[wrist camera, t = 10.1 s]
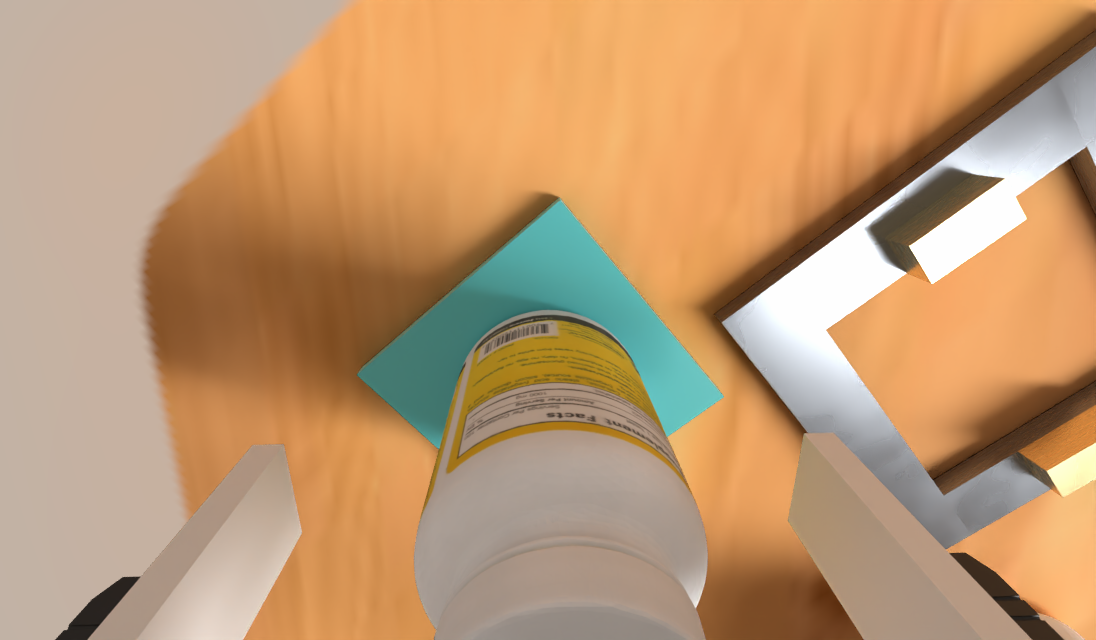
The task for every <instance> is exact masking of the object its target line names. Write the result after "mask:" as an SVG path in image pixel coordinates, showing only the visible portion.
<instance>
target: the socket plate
mask: <svg viewBox="0 0 1096 640" xmlns="http://www.w3.org/2000/svg"><path fill="white" fill-rule="evenodd" d="M1068 159H1069V160H1070V162H1071V164H1072V166H1073V169H1074V171H1075V173H1076V175H1077V177H1078V179H1079V181H1080V183H1081V186H1082V188H1083V190H1084V192H1085V194H1086V196H1087V198H1088V200H1089V203H1090V205H1091V207H1092V209H1093V211H1094V213H1095V215H1096V30H1095V31H1094V32H1092V33H1091V34H1090V35H1088V36H1087V37H1086V38H1084V39H1083V40H1082V41H1080V42H1079V43H1078V44H1076V45H1075V46H1074V47H1072V48H1071V49H1070V50H1068V51H1067V52H1066V53H1064V54H1063V55H1062V56H1060V57H1059V58H1058V59H1056V60H1055V61H1054V62H1052V63H1051V64H1050V65H1048V66H1047V67H1046V68H1044V69H1043V70H1041V71H1040V72H1039V73H1037V74H1036V75H1035V76H1033V77H1032V78H1031V79H1029V80H1028V81H1027V82H1025V83H1024V84H1023V85H1021V86H1020V87H1019V88H1017V89H1016V90H1015V91H1013V92H1012V93H1011V94H1009V95H1008V96H1007V97H1005V98H1004V99H1003V100H1001V101H1000V102H999V103H997V104H996V105H995V106H993V107H992V108H990V109H989V110H988V111H986V112H985V113H984V114H982V115H981V116H980V117H978V118H977V119H976V120H974V121H973V122H972V123H970V124H969V125H968V126H966V127H965V128H964V129H962V130H961V131H960V132H958V133H957V134H956V135H954V136H953V137H952V138H950V139H949V140H948V141H946V142H945V143H944V144H942V145H941V146H939V147H938V148H937V149H935V150H934V151H933V152H931V153H930V154H929V155H927V156H926V157H925V158H923V159H922V160H921V161H919V162H918V163H917V164H915V165H914V166H913V167H911V168H910V169H909V170H907V171H906V172H905V173H903V174H902V175H901V176H899V177H898V178H897V179H895V180H894V181H893V182H891V183H890V184H888V185H887V186H886V187H884V188H883V189H882V190H880V191H879V192H878V193H876V194H875V195H874V196H872V197H871V198H870V199H868V200H867V201H866V202H864V203H863V204H862V205H860V206H859V207H858V208H856V209H855V210H854V211H852V212H851V213H850V214H848V215H847V216H846V217H844V218H843V219H842V220H840V221H839V222H837V223H836V224H835V225H833V226H832V227H831V228H829V229H828V230H827V231H825V232H824V233H823V234H821V235H820V236H819V237H817V238H816V239H815V240H813V241H812V242H811V243H809V244H808V245H807V246H805V247H804V248H803V249H801V250H800V251H799V252H797V253H796V254H795V255H793V256H792V257H791V258H789V259H788V260H786V261H785V262H784V263H782V264H781V265H780V266H778V267H777V268H776V269H774V270H773V271H772V272H770V273H769V274H768V275H766V276H765V277H764V278H762V279H761V280H760V281H758V282H757V283H756V284H754V285H753V286H752V287H750V288H749V289H748V290H746V291H745V292H744V293H742V294H741V295H740V296H738V297H737V298H735V299H734V300H733V301H731V302H730V303H729V304H727V305H726V306H725V307H723V308H722V309H721V310H719V311H718V312H717V313H715V314H714V315H715V316H716V318H717V319H718V320H719V321H720V323H721V324H722V325H723V326H724V328H725V329H726V330H727V332H728V333H729V334H730V335H731V337H732V338H733V339H734V340H735V342H736V343H737V344H738V345H739V347H740V348H741V349H742V351H743V352H744V353H745V354H746V356H747V357H748V358H749V359H750V361H751V362H752V363H753V365H754V366H755V367H756V368H757V370H758V371H759V372H760V373H761V375H762V376H763V377H764V379H765V380H766V381H767V382H768V384H769V385H770V386H771V387H772V389H773V390H774V391H775V392H776V394H777V395H778V396H779V398H780V399H781V400H782V401H783V403H784V404H785V405H786V406H787V408H788V409H789V410H790V412H791V413H792V414H793V415H794V417H795V418H796V419H797V420H798V422H799V423H800V424H801V426H802V427H803V428H804V429H805V431H806V432H807V433H834V434H835V435H836V436H837V437H838V438H839V439H840V440H841V441H842V442H843V443H844V444H845V445H846V446H847V447H848V448H849V449H850V450H851V452H852V453H853V454H854V455H855V456H856V457H857V458H858V459H859V460H860V461H861V462H862V463H863V464H864V465H865V466H866V467H867V468H868V469H869V470H870V471H871V472H872V473H873V474H874V475H875V477H876V478H877V479H878V480H879V481H880V482H881V483H882V484H883V485H884V486H885V487H886V488H887V489H888V490H889V491H890V492H891V493H892V494H893V495H894V496H895V497H896V498H897V499H898V500H899V502H900V503H901V504H902V505H903V506H904V507H905V508H906V509H907V510H908V511H909V512H910V513H911V514H912V515H913V516H914V517H915V518H916V519H917V520H918V521H919V522H920V523H921V524H922V525H923V527H924V528H925V529H926V530H927V531H928V532H929V533H930V534H931V535H932V536H933V537H934V538H935V539H936V540H937V541H938V542H939V543H940V544H941V545H942V546H943V547H944V548H945V549H947V548H949V547H951V546H953V545H954V544H956V543H958V542H960V541H961V540H963V539H965V538H967V537H968V536H970V535H972V534H974V533H975V532H977V531H979V530H980V529H982V528H984V527H986V526H987V525H989V524H991V523H993V522H994V521H996V520H998V519H1000V518H1001V517H1003V516H1005V515H1007V514H1008V513H1010V512H1012V511H1014V510H1015V509H1017V508H1019V507H1020V506H1022V505H1024V504H1026V503H1027V502H1029V501H1031V500H1033V499H1034V498H1036V497H1038V496H1040V495H1041V494H1043V493H1045V492H1047V491H1048V490H1050V489H1052V490H1053V491H1054V492H1056V493H1057V494H1059V495H1060V496H1061V497H1065V496H1067V495H1068V494H1070V493H1072V492H1074V491H1075V490H1077V489H1079V488H1081V487H1083V486H1084V485H1086V484H1088V483H1090V482H1091V481H1093V480H1095V479H1096V382H1094V383H1092V384H1091V385H1089V386H1087V387H1086V388H1084V389H1082V390H1081V391H1079V392H1077V393H1076V394H1074V395H1072V396H1071V397H1069V398H1068V399H1066V400H1064V401H1063V402H1061V403H1059V404H1058V405H1056V406H1054V407H1053V408H1051V409H1049V410H1048V411H1046V412H1044V413H1043V414H1041V415H1040V416H1038V417H1036V418H1035V419H1033V420H1031V421H1030V422H1028V423H1026V424H1025V425H1023V426H1021V427H1020V428H1018V429H1016V430H1015V431H1013V432H1012V433H1010V434H1008V435H1007V436H1005V437H1003V438H1002V439H1000V440H998V441H997V442H995V443H993V444H992V445H990V446H988V447H987V448H985V449H983V450H982V451H980V452H979V453H977V454H975V455H974V456H972V457H970V458H969V459H967V460H965V461H964V462H962V463H960V464H959V465H957V466H955V467H954V468H952V469H951V470H949V471H947V472H946V473H944V474H942V475H941V476H939V477H937V478H936V479H934V480H932V479H931V477H930V476H929V474H928V473H927V472H926V470H925V469H924V467H923V466H922V465H921V463H920V462H919V460H918V459H917V458H916V456H915V455H914V453H913V452H912V450H911V449H910V448H909V446H908V445H907V443H906V442H905V441H904V439H903V438H902V436H901V435H900V434H899V432H898V431H897V429H896V428H895V427H894V425H893V424H892V422H891V421H890V420H889V418H888V417H887V415H886V414H885V413H884V411H883V410H882V408H881V407H880V406H879V404H878V403H877V401H876V400H875V399H874V397H873V396H872V394H871V393H870V392H869V390H868V389H867V387H866V386H865V385H864V383H863V382H862V380H861V379H860V378H859V376H858V375H857V373H856V372H855V370H854V369H853V368H852V366H851V365H850V363H849V362H848V361H847V359H846V358H845V356H844V355H843V354H842V352H841V351H840V349H839V348H838V347H837V345H836V344H835V342H834V341H833V340H832V338H831V337H830V335H829V334H828V333H827V331H826V329H827V328H829V327H830V326H832V325H833V324H834V323H836V322H837V321H839V320H840V319H842V318H843V317H844V316H846V315H847V314H849V313H850V312H852V311H853V310H854V309H856V308H857V307H859V306H860V305H862V304H863V303H864V302H866V301H867V300H869V299H870V298H872V297H873V296H874V295H876V294H877V293H879V292H880V291H881V290H883V289H884V288H886V287H887V286H889V285H890V284H891V283H893V282H894V281H896V280H897V279H899V278H900V277H901V276H903V275H904V274H906V273H908V274H910V275H912V276H915V277H917V278H920V279H922V280H924V281H927V282H929V283H932V284H933V283H934V282H936V281H937V280H938V279H940V278H941V277H943V276H944V275H946V274H947V273H949V272H950V271H951V270H953V269H954V268H956V267H957V266H959V265H960V264H962V263H963V262H965V261H966V260H967V259H969V258H970V257H972V256H973V255H975V254H976V253H978V252H979V251H980V250H982V249H983V248H985V247H986V246H988V245H989V244H991V243H992V242H994V241H995V240H996V239H998V238H999V237H1001V236H1002V235H1004V234H1005V233H1007V232H1008V231H1009V230H1011V229H1012V228H1014V227H1015V226H1017V225H1018V224H1020V223H1021V222H1023V221H1024V220H1025V219H1026V217H1025V215H1024V213H1023V211H1022V209H1021V208H1020V206H1019V204H1018V202H1017V200H1016V198H1015V196H1017V195H1018V194H1020V193H1021V192H1023V191H1024V190H1025V189H1027V188H1028V187H1030V186H1031V185H1033V184H1034V183H1035V182H1037V181H1038V180H1040V179H1041V178H1043V177H1044V176H1045V175H1047V174H1048V173H1050V172H1051V171H1052V170H1054V169H1055V168H1057V167H1058V166H1060V165H1061V164H1062V163H1064V162H1065V161H1067V160H1068Z"/></svg>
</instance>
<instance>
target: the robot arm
mask: <svg viewBox="0 0 1096 640" xmlns="http://www.w3.org/2000/svg"><path fill="white" fill-rule="evenodd" d="M788 522H789V523H790V525H791V526H792V528H793V529H794V531H795V533H796V534H797V536H798V537H799V539H800V540H801V542H802V544H803V545H804V547H805V548H806V550H807V551H808V553H809V555H810V556H811V558H812V559H813V561H814V562H815V564H816V566H817V567H818V569H819V570H820V572H821V573H822V575H823V577H824V578H825V580H826V581H827V583H828V584H829V586H830V587H831V589H832V591H833V592H834V594H835V595H836V597H837V598H838V600H839V602H840V603H841V605H842V606H843V608H844V609H845V611H846V613H847V614H848V616H849V617H850V619H851V620H852V622H853V624H854V625H855V627H856V628H857V630H858V631H859V633H860V635H861V636H862V638H863V639H864V640H1064V639H1063V638H1062V637H1061V636H1060V635H1059V634H1058V633H1057V632H1056V631H1055V630H1054V629H1053V628H1052V627H1051V626H1050V625H1049V624H1048V623H1047V622H1046V621H1045V620H1041V619H1040V617H1039V614H1038V613H1037V612H1036V611H1035V610H1034V609H1032V608H1031V607H1030V606H1029V605H1028V604H1027V603H1026V602H1025V601H1024V600H1020V598H1019V595H1018V594H1017V593H1016V592H1015V591H1014V590H1013V589H1012V588H1011V587H1010V586H1009V585H1008V584H1007V583H1006V582H1005V581H1004V580H1003V579H1002V578H1001V577H1000V576H999V575H998V574H997V573H996V572H994V571H993V570H991V569H990V568H988V567H987V566H985V565H983V564H982V563H980V562H979V561H977V560H976V559H974V558H973V557H971V556H970V555H968V554H967V553H948V552H947V550H946V549H945V548H944V547H943V546H942V545H941V544H940V543H939V542H938V541H937V540H936V539H935V538H934V537H933V536H932V535H931V534H930V533H929V532H928V531H927V530H926V529H925V528H924V527H923V525H922V524H921V523H920V522H919V521H918V520H917V519H916V518H915V517H914V516H913V515H912V514H911V513H910V512H909V511H908V510H907V509H906V508H905V507H904V506H903V505H902V504H901V503H900V502H899V500H898V499H897V498H896V497H895V496H894V495H893V494H892V493H891V492H890V491H889V490H888V489H887V488H886V487H885V486H884V485H883V484H882V483H881V482H880V481H879V480H878V479H877V478H876V477H875V475H874V474H873V473H872V472H871V471H870V470H869V469H868V468H867V467H866V466H865V465H864V464H863V463H862V462H861V461H860V460H859V459H858V458H857V457H856V456H855V455H854V454H853V453H852V452H851V450H850V449H849V448H848V447H847V446H846V445H845V444H844V443H843V442H842V441H841V440H840V439H839V438H838V437H837V436H836V435H835V434H834V433H804V436H803V441H802V446H801V452H800V457H799V463H798V468H797V473H796V479H795V484H794V490H793V495H792V500H791V506H790V511H789V517H788ZM301 534H302V530H301V525H300V520H299V515H298V511H297V506H296V501H295V496H294V491H293V486H292V481H291V477H290V472H289V467H288V462H287V457H286V452H285V447H284V444H275V445H252V446H251V448H250V449H249V450H248V451H247V452H246V454H245V455H244V456H243V457H242V458H241V459H240V461H239V462H238V463H237V464H236V465H235V466H234V468H233V469H232V470H231V471H230V472H229V474H228V475H227V476H226V477H225V478H224V479H223V481H222V482H221V483H220V484H219V485H218V486H217V488H216V489H215V490H214V491H213V492H212V494H211V495H210V496H209V497H208V498H207V499H206V501H205V502H204V503H203V504H202V505H201V507H200V508H199V509H198V510H197V511H196V512H195V514H194V515H193V516H192V517H191V518H190V519H189V521H188V522H187V523H186V524H185V525H184V527H183V528H182V529H181V530H180V531H179V532H178V534H177V535H176V536H175V537H174V538H173V539H172V541H171V542H170V543H169V544H168V545H167V547H166V548H165V549H164V550H163V551H162V553H161V554H160V555H159V556H158V557H157V558H156V560H155V561H154V562H153V563H152V564H151V565H150V567H149V568H148V569H147V570H146V571H145V572H144V574H143V575H142V576H141V577H123V578H121V579H120V580H118V581H117V582H115V583H114V584H113V585H111V586H110V587H109V588H107V589H106V590H104V591H103V592H102V593H100V594H99V595H97V596H96V597H95V598H93V599H92V600H91V601H90V602H89V603H88V604H87V606H86V607H85V608H84V609H83V610H82V611H81V612H80V613H79V614H78V615H77V617H76V618H75V619H74V620H73V621H72V622H71V623H70V624H69V627H68V630H64V631H63V632H62V633H61V634H60V635H59V636H58V638H57V639H56V640H243V639H244V637H245V635H246V634H247V632H248V630H249V628H250V626H251V625H252V623H253V621H254V619H255V617H256V615H257V614H258V612H259V610H260V608H261V606H262V605H263V603H264V601H265V599H266V597H267V595H268V594H269V592H270V590H271V588H272V586H273V585H274V583H275V581H276V579H277V577H278V576H279V574H280V572H281V570H282V568H283V566H284V565H285V563H286V561H287V559H288V557H289V556H290V554H291V552H292V550H293V548H294V546H295V545H296V543H297V541H298V539H299V537H300V536H301Z"/></svg>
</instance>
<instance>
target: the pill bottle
mask: <svg viewBox="0 0 1096 640" xmlns="http://www.w3.org/2000/svg"><path fill="white" fill-rule="evenodd" d="M707 564H708V550H707V542H706V535H705V530H704V526H703V522H702V519H701V516H700V513H699V510H698V507H697V504H696V502H695V499H694V497H693V495H692V493H691V490H690V488H689V486H688V483H687V481H686V479H685V476H684V474H683V472H682V469H681V467H680V465H679V463H678V460H677V458H676V456H675V454H674V451H673V449H672V447H671V445H670V443H669V440H668V438H667V436H666V434H665V431H664V429H663V427H662V424H661V422H660V420H659V417H658V415H657V413H656V411H655V409H654V406H653V404H652V402H651V399H650V397H649V395H648V393H647V391H646V388H645V386H644V384H643V381H642V379H641V376H640V374H639V372H638V370H637V368H636V366H635V364H634V362H633V360H632V358H631V357H630V355H629V353H628V351H627V350H626V349H625V347H624V346H623V345H622V344H621V342H620V341H619V340H618V339H617V338H616V337H615V336H614V335H613V334H612V333H611V332H610V331H608V330H607V329H606V328H605V327H603V326H602V325H600V324H598V323H597V322H595V321H593V320H591V319H589V318H587V317H584V316H581V315H578V314H574V313H571V312H566V311H559V310H539V311H532V312H528V313H524V314H521V315H518V316H515V317H512V318H510V319H508V320H505V321H504V322H502V323H500V324H498V325H497V326H495V327H494V328H492V329H491V330H490V331H488V332H487V333H486V334H485V335H484V336H483V337H482V338H481V339H480V340H479V341H478V342H477V343H476V344H475V346H474V347H473V348H472V350H471V351H470V353H469V354H468V356H467V358H466V360H465V362H464V364H463V367H462V369H461V372H460V374H459V377H458V381H457V384H456V387H455V391H454V395H453V399H452V403H451V406H450V409H449V414H448V417H447V421H446V425H445V429H444V432H443V437H442V440H441V444H440V448H439V451H438V455H437V459H436V463H435V466H434V470H433V474H432V477H431V481H430V485H429V489H428V492H427V496H426V499H425V503H424V507H423V510H422V514H421V518H420V522H419V526H418V531H417V536H416V542H415V552H414V570H415V580H416V585H417V589H418V593H419V596H420V600H421V602H422V605H423V607H424V610H425V612H426V614H427V616H428V618H429V619H430V621H431V623H432V624H433V626H434V628H435V629H436V633H435V637H434V640H706V638H705V635H704V632H703V628H702V625H701V621H700V618H699V615H698V612H697V610H696V607H697V605H698V603H699V600H700V597H701V595H702V591H703V588H704V585H705V580H706V574H707Z"/></svg>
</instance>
